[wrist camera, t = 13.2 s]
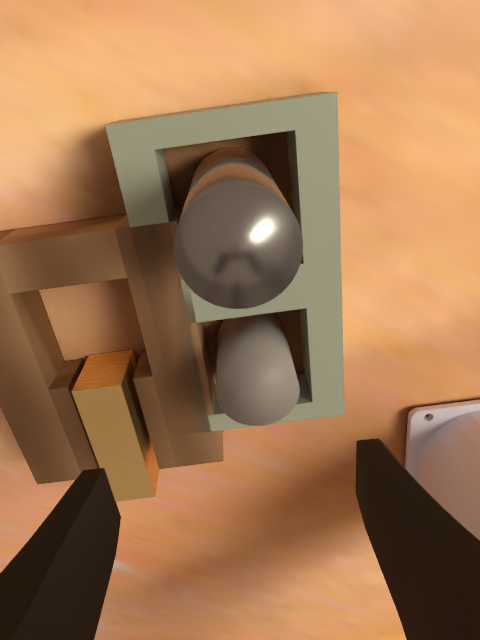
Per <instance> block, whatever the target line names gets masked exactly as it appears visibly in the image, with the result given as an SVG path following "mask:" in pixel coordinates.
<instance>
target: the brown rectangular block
mask: <svg viewBox="0 0 480 640" xmlns="http://www.w3.org/2000/svg"><path fill="white" fill-rule="evenodd" d="M136 368H137V363H136V360H135V356H134V352H133V350H125V351H118V352H110V353H102V354H95V355H89V357H88V359H87V361H86V363H85V365H84V367H83V369H82V371H81V373H80V375H79V377H78V379H77V381H76V383H75V385H74V387H73V389H72V394H73V397H74V400H75V402H76V405H77V408H78V410H79V413H80V416H81V418H82V421H83V424H84V427H85V429H86V432H87V435H88V437H89V440H90V443H91V445H92V448H93V451H94V454H95V456H96V459H97V462H98V464H99V467H100V468H104V469H105V472H106V475H107V478H108V481H109V484H110V487H111V490H112V493H113V496H114V499H115V502H116V501H124V500H132V499H140V498H148V497H155V493H156V487H157V481H158V474H159V467H158V464H157V460H156V457H155V453H154V450H153V446H152V443H151V439H150V436H149V432H148V429H147V425H146V422H145V418H144V415H143V411H142V408H141V404H140V401H139V398H138V394H137V391H136V387H135V384H134V380H133V378H134V374H135V371H136Z"/></svg>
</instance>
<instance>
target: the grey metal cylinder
mask: <svg viewBox="0 0 480 640" xmlns="http://www.w3.org/2000/svg"><path fill="white" fill-rule="evenodd" d="M174 255H175V261H176V265H177V268H178V270H179V273H180V275H181V277H182V278H183V280H184V282H185V283H186V284H187V286H188V287H189V288H190V289H191V290H192V291H193V292H194V293H195V294H197V295H198V296H199V297H200V298H202V299H204V300H205V301H207V302H209V303H211V304H214V305H216V306H220V307H224V308H229V309H246V308H252V307H256V306H259V305H262V304H264V303H267V302H269V301H270V300H272V299H274V298H275V297H277V296H278V295H279V294H281V293H282V292H283V291H284V290H285V289H286V288H287V287H288V286H289V284H290V283H291V282H292V281H293V279H294V277H295V276H296V274H297V272H298V269H299V267H300V264H301V260H302V255H303V237H302V232H301V228H300V226H299V223H298V221H297V219H296V217H295V215H294V214H293V212H292V210H291V208H290V207H289V205H288V203H287V202H286V200H285V198H284V196H283V195H282V193H281V191H280V190H279V188H278V186H277V185H276V183H275V181H274V179H273V178H272V176H271V174H270V173H269V171H268V169H267V168H266V166H265V164H264V163H263V162H262V160H261V159H260V158H259V157H257V156H256V155H255V154H253V153H252V152H250V151H248V150H245V149H242V148H238V147H226V148H221V149H218V150H216V151H214V152H212V153H210V154H209V155H207V156H206V157H205V158H204V159H203V160H202V161H201V162H200V164H199V165H198V167H197V168H196V170H195V173H194V176H193V179H192V182H191V185H190V188H189V192H188V195H187V198H186V201H185V205H184V208H183V211H182V214H181V218H180V221H179V224H178V227H177V230H176V234H175V240H174Z"/></svg>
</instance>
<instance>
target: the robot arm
mask: <svg viewBox="0 0 480 640" xmlns="http://www.w3.org/2000/svg"><path fill="white" fill-rule="evenodd" d="M427 414H430V415H428V416H426V415H427ZM425 416H426V417H425ZM356 495H357V499H358V503H359V507H360V510H361V514H362V518H363V521H364V525H365V528H366V531H367V534H368V536H369V539H370V542H371V544H372V547H373V550H374V552H375V555H376V557H377V560H378V562H379V565H380V568H381V570H382V573H383V575H384V578H385V580H386V583H387V586H388V588H389V591H390V593H391V596H392V598H393V601H394V604H395V606H396V609H397V612H398V614H399V617H400V620H401V623H402V626H403V629H404V632H405V636H406V639H407V640H480V400H473V401H465V402H457V403H449V404H441V405H434V406H426V407H418V408H414V409H412V410H411V411H410V412H409V414H408V423H407V440H406V456H405V468H404V466H403V465H402V464H401V463H400V462H399V461H398V460H397V459H396V457H395V456H394V455H393V454H392V453H391V452H390V450H389V449H388V448H387V447H386V446H385V444H384V443H383V442H382V441H381V440H380V439H369V440H359V441H357V451H356ZM120 519H121V516H120V513H119V510H118V507H117V505H116V502H115V499H114V496H113V493H112V490H111V487H110V484H109V481H108V478H107V475H106V472H105V469H104V468H99V469H90V470H83V471H82V472H81V473H80V475H79V476H78V477H77V479H76V480H75V481H74V482H73V484H72V485H71V486H70V488H69V489H68V490H67V492H66V493H65V494H64V496H63V497H62V498H61V500H60V501H59V502H58V504H57V505H56V506H55V508H54V509H53V510H52V512H51V513H50V514H49V515H48V517H47V518H46V519H45V521H44V522H43V523H42V524H41V526H40V527H39V528H38V529H37V531H36V532H35V533H34V534H33V536H32V537H31V538H30V539H29V541H28V542H27V543H26V544H25V545H24V547H23V548H22V549H21V550H20V551H19V552H18V554H17V555H16V556H15V557H14V558H13V559H12V561H11V562H10V563H9V564H8V565H7V566H6V568H5V569H4V570H3V571H2V572H1V573H0V640H94V637H95V634H96V630H97V626H98V622H99V618H100V614H101V610H102V607H103V603H104V599H105V595H106V591H107V587H108V583H109V579H110V575H111V572H112V568H113V564H114V559H115V555H116V549H117V542H118V535H119V527H120Z"/></svg>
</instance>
